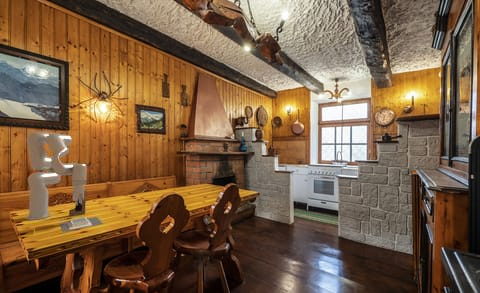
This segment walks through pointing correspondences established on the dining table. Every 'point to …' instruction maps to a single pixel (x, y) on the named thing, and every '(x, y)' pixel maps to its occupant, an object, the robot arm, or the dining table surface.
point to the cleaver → (74, 213)
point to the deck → (79, 222)
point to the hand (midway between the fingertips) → (78, 210)
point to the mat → (92, 222)
